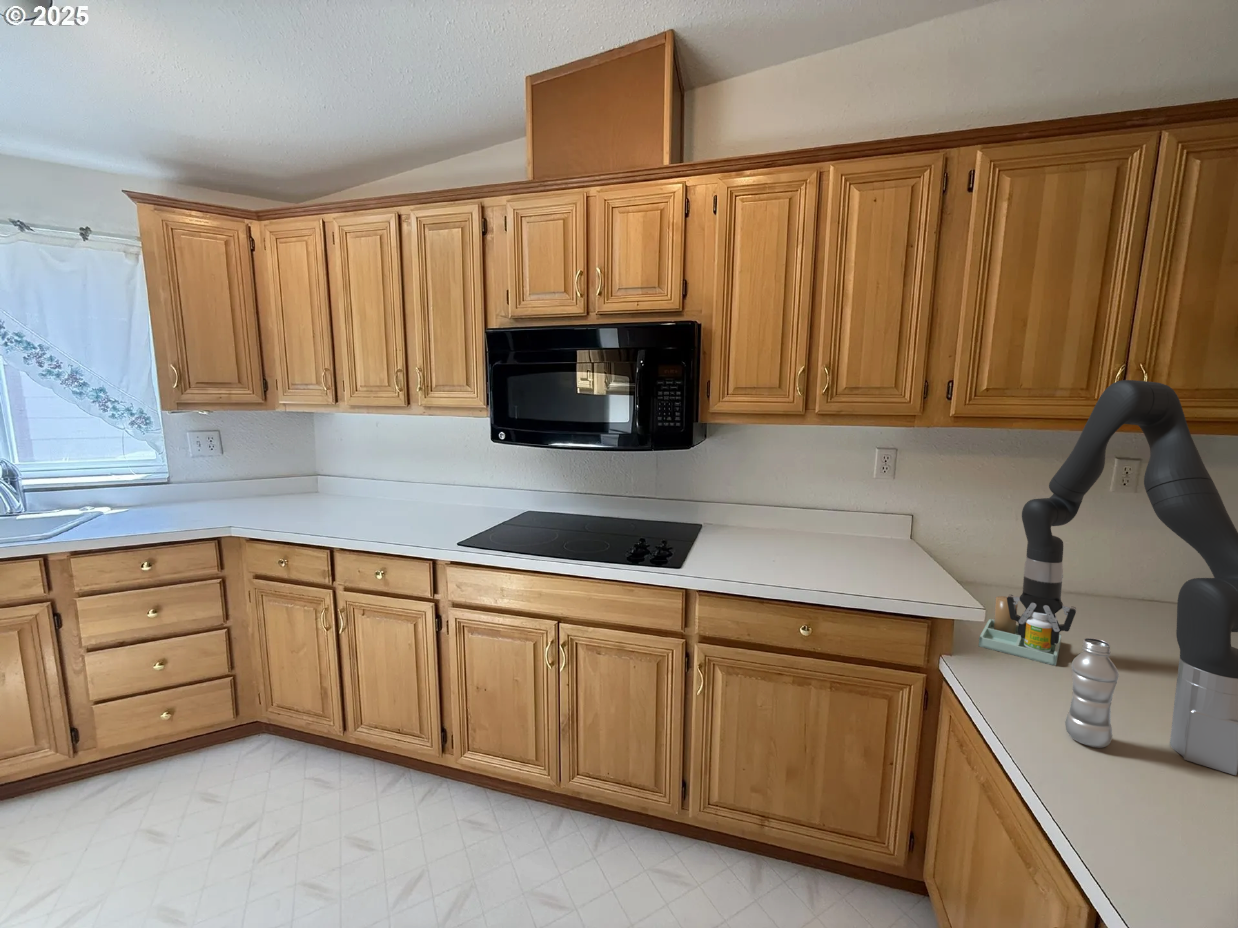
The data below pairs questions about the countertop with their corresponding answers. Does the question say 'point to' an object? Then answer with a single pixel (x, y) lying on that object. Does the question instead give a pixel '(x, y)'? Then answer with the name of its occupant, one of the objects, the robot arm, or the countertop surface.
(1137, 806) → the countertop surface
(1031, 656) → the tray
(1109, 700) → the plastic bottle
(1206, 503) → the robot arm
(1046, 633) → the supplement bottle
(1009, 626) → the tan cylinder
